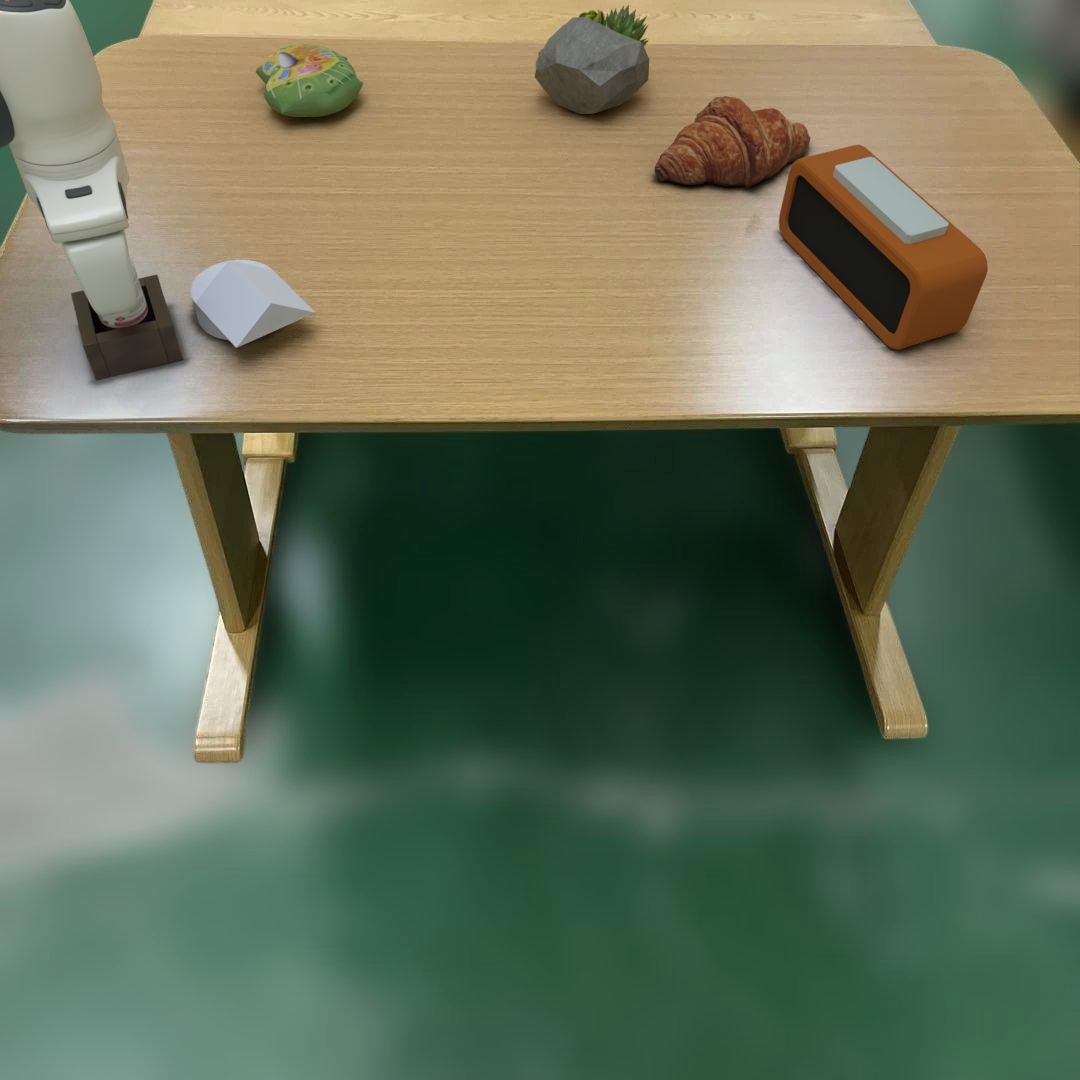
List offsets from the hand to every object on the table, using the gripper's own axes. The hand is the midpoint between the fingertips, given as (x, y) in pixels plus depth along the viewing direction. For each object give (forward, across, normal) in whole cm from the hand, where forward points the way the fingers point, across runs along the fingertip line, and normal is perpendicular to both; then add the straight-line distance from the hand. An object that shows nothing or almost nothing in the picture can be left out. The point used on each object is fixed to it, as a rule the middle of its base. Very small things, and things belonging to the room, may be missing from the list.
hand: (116, 293), depth 109 cm
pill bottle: (+3, 0, 0) cm, 3 cm away
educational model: (+7, -40, +29) cm, 50 cm away
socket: (+6, 0, 0) cm, 7 cm away
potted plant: (+7, -28, +64) cm, 71 cm away
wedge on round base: (+7, +1, +12) cm, 14 cm away
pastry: (+7, -8, +74) cm, 75 cm away
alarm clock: (+7, +18, +77) cm, 79 cm away
